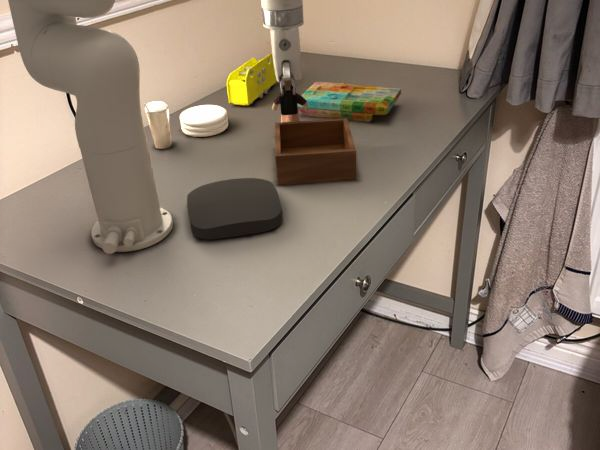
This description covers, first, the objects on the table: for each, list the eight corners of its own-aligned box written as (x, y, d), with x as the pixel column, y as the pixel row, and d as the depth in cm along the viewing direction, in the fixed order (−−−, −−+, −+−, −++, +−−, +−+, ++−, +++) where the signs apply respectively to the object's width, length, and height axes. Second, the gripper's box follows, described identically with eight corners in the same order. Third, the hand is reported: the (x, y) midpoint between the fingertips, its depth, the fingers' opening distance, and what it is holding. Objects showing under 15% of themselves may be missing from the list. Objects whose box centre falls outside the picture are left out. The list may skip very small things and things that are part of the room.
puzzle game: (314, 78, 144) (401, 84, 138) (315, 98, 147) (400, 105, 140) (295, 96, 135) (387, 104, 128) (296, 117, 138) (387, 126, 131)
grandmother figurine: (272, 139, 128) (267, 78, 122) (274, 132, 131) (269, 72, 125) (310, 139, 127) (307, 77, 121) (311, 131, 131) (308, 70, 124)
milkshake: (144, 150, 127) (135, 102, 122) (161, 139, 131) (153, 93, 126) (162, 153, 125) (153, 105, 120) (179, 143, 129) (171, 95, 124)
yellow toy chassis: (250, 108, 143) (246, 72, 139) (228, 106, 145) (223, 70, 141) (278, 85, 156) (276, 51, 151) (257, 83, 158) (254, 49, 153)
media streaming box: (192, 245, 97) (189, 228, 95) (187, 199, 109) (185, 183, 107) (287, 230, 99) (285, 214, 97) (272, 187, 111) (270, 172, 109)
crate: (356, 179, 112) (356, 150, 109) (277, 185, 111) (275, 156, 109) (347, 144, 124) (347, 117, 121) (277, 149, 124) (274, 122, 121)
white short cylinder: (232, 133, 132) (231, 117, 130) (185, 141, 130) (182, 125, 128) (224, 116, 140) (222, 101, 138) (178, 123, 138) (176, 108, 136)
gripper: (305, 27, 110) (310, 120, 118) (301, 4, 124) (305, 88, 133) (262, 30, 109) (269, 123, 118) (262, 6, 124) (269, 91, 133)
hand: (288, 104), depth 126 cm, fingers open, 9 cm apart
